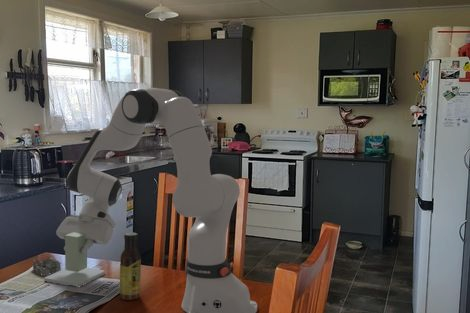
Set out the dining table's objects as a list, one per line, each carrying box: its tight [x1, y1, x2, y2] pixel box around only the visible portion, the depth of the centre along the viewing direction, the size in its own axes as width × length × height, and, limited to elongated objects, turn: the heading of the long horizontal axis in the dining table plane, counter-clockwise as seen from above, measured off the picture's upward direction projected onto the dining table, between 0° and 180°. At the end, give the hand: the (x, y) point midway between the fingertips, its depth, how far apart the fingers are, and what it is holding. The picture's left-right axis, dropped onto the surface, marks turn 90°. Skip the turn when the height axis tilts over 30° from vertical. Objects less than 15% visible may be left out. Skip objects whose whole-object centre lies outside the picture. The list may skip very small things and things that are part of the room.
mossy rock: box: [31, 257, 62, 276], centre depth 164 cm, size 11×8×4 cm
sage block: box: [64, 232, 88, 272], centre depth 157 cm, size 5×5×12 cm
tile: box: [43, 267, 106, 288], centre depth 157 cm, size 14×14×1 cm
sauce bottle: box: [119, 232, 142, 301], centre depth 141 cm, size 6×6×20 cm
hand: (74, 251), depth 156 cm, fingers closed on sage block, 5 cm apart
